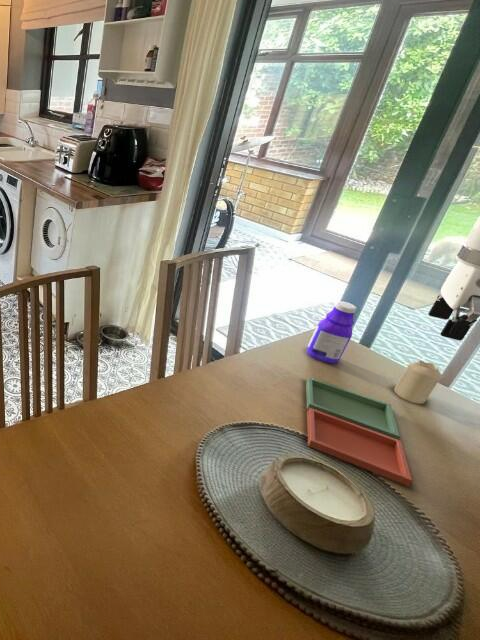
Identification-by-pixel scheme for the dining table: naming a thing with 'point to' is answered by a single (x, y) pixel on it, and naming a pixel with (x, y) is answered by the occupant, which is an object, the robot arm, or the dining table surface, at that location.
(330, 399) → the tray sage
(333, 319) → the bottle
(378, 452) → the tray terracotta
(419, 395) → the candle
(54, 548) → the dining table surface
